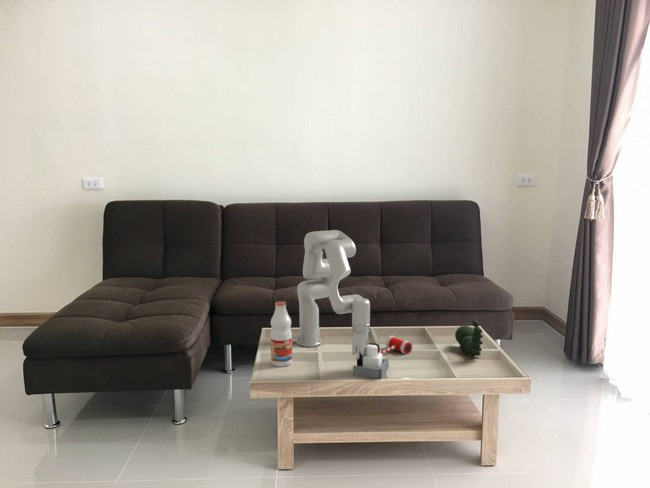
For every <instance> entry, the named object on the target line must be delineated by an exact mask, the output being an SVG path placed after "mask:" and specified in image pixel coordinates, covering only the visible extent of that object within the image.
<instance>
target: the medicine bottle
mask: <svg viewBox="0 0 650 488" xmlns="http://www.w3.org/2000/svg"><path fill="white" fill-rule="evenodd" d="M380 351H381V349H380V344H379V343H376V342H368V344H367V345H366V353H365V355H364V356H363V365H362V366H363V367H372V368H380V367H381V365H382V359H383V354H381V353H380Z"/></svg>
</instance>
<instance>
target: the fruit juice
mask: <svg viewBox="0 0 650 488" xmlns="http://www.w3.org/2000/svg"><path fill="white" fill-rule="evenodd" d="M274 305H275V306H274V307H275V309H274V312H273V315H272V317H271V319H270V326H271V330H270V360H271V361H270V362H271V365H272V366H273V367H277V368H281V367H289V366H291V365H292V363H293V337H292V334H293V333H292V329H291V327H292V318H291V317H290V315H289V313H288V310H287V308H286V307H287V302H286V301H281V300H280V301H275V304H274Z"/></svg>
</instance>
